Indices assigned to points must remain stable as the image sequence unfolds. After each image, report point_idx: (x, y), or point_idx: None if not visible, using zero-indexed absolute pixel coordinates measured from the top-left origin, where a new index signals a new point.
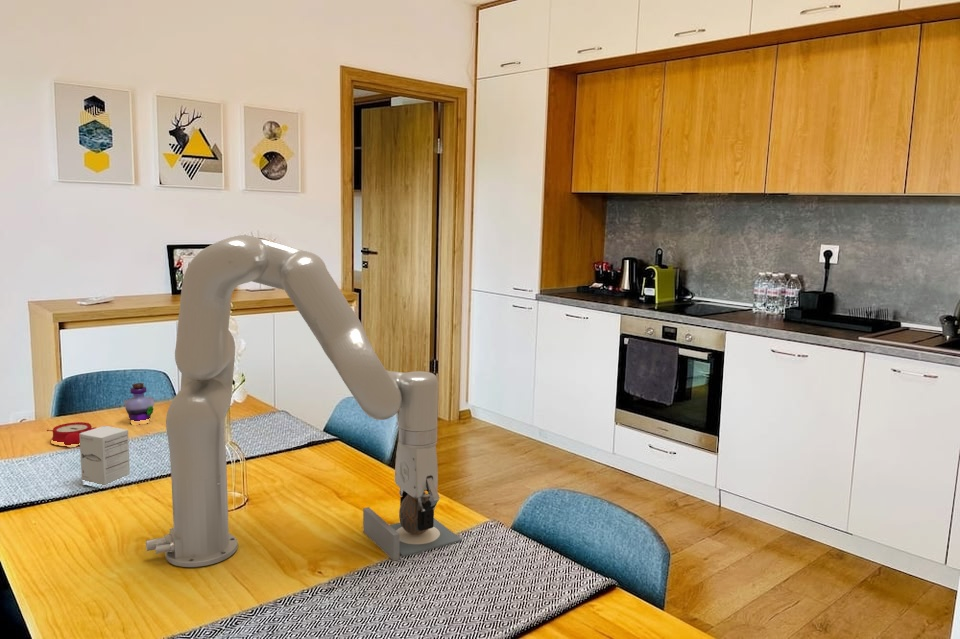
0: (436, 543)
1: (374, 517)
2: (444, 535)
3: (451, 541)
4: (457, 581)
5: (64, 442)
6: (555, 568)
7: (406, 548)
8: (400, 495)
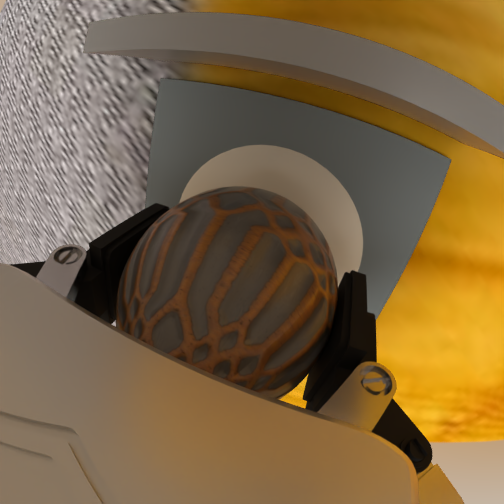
0: None
1: (367, 44)
2: None
3: None
4: (27, 136)
5: None
6: None
7: (190, 121)
8: (379, 365)
